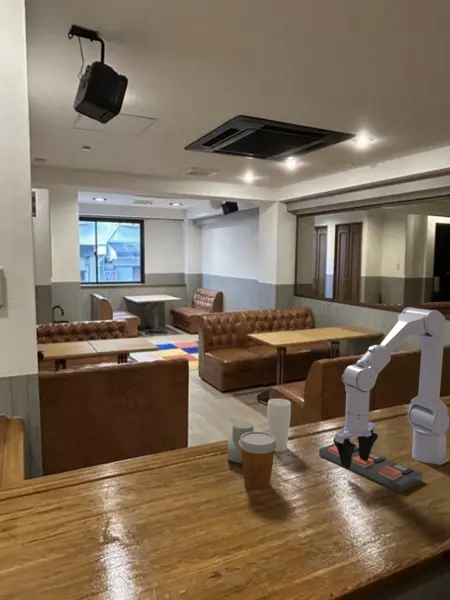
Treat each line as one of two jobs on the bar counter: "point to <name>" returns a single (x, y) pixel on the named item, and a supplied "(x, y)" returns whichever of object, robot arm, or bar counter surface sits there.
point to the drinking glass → (279, 422)
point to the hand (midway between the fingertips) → (354, 463)
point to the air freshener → (237, 440)
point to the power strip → (372, 471)
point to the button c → (390, 473)
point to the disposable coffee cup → (257, 458)
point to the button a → (333, 451)
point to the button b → (362, 462)
